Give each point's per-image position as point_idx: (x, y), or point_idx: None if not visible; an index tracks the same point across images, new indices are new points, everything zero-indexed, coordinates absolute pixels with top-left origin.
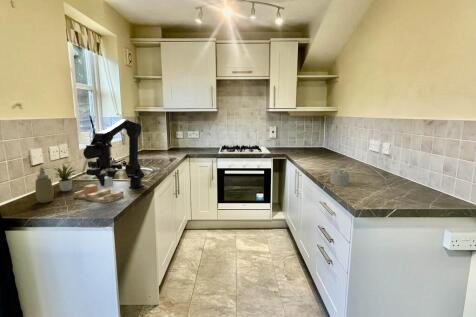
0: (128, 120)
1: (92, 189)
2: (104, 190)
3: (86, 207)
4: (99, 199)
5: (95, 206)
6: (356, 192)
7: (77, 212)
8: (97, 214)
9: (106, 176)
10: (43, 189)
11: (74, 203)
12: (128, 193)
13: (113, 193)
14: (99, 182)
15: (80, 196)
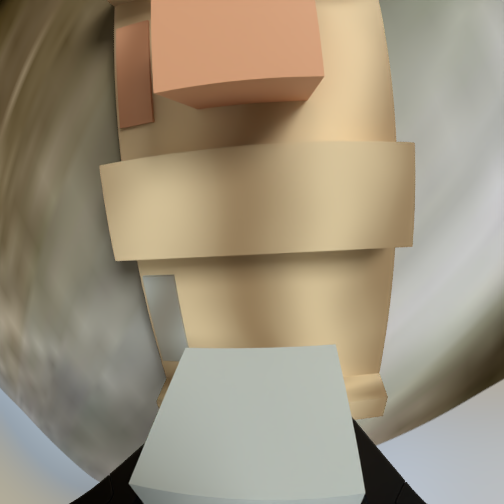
0: None
1: (217, 94)
2: (350, 205)
3: (54, 333)
4: (159, 332)
5: (97, 370)
6: None
7: (10, 349)
8: (72, 441)
9: (357, 502)
10: None
11: (34, 163)
12: (462, 338)
13: (392, 276)
14: (159, 409)
15: (119, 49)
